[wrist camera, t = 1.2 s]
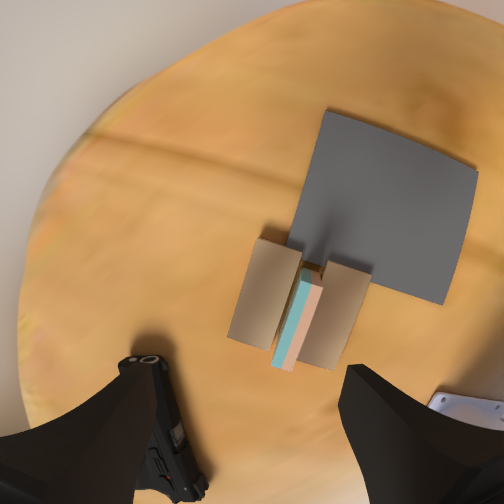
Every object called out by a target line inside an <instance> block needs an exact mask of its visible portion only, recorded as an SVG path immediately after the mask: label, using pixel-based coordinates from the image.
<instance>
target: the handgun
mask: <svg viewBox="0 0 504 504" xmlns="http://www.w3.org/2000/svg"><path fill="white" fill-rule="evenodd" d="M135 361H136V362H145V363H151V367H152V374H153V380H154V387H155V393H156V399H157V410H156V415H155V421H154V426H153V429H152V432H151V435H150V439H149V442H148V445H147V448H146V451H145V454H144V457H143V460H142V463H141V466H140V469H139V473H138V477H137V481H136V486H135V490H146V489H153V490H157V491H159V492H161V493H163V494H165V495H167V496H168V497H169V498H170V500H171V501H172V503H174V504H177V503H179V502H180V501H183V502H195V501H201V499H202V498H204V496H205V490H208V488H209V484H208V482H207V481H206V479H205V477H204V475H203V474H202V473H201V472H199V469H198V467H197V464H196V461H195V458H194V456H193V453H192V450H191V447H190V444H189V442H188V441H187V439H186V435H185V432H184V429H183V426H182V422H181V417H180V414H179V411H178V408H177V405H176V401H175V398H174V394H173V391H172V388H171V384H170V381H169V377H168V373H167V369H168V365H167V362H165V361H164V358H162V357H161V356H159V355H150V356H148V355H146V356H132V357H131V356H129V357H126V358H125V359H123V360H122V361H120V362H119V363H118V369H119V372H120V374H121V373H122V372H123V371H124V370H126V369H127V368H128V367H129V366H130V365H131V364H133V363H134V362H135Z"/></svg>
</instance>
